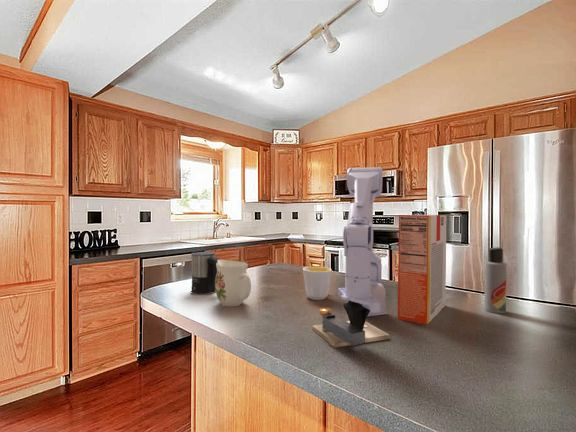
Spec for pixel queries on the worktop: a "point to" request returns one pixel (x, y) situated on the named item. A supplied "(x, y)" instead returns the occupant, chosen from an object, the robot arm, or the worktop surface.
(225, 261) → the pitcher
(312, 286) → the mug
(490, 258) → the lotion bottle
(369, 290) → the robot arm
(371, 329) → the tan piece
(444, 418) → the worktop surface
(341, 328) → the swing bar
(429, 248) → the cereal box
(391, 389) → the worktop surface
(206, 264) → the milk frother
